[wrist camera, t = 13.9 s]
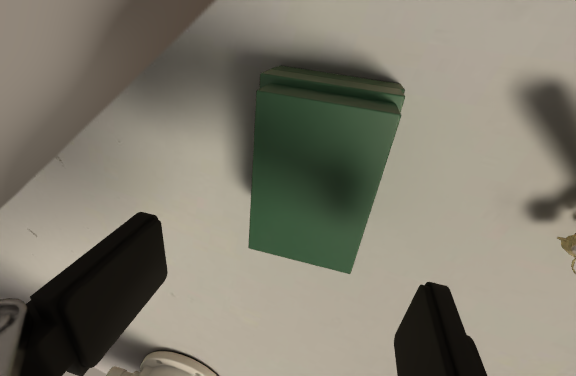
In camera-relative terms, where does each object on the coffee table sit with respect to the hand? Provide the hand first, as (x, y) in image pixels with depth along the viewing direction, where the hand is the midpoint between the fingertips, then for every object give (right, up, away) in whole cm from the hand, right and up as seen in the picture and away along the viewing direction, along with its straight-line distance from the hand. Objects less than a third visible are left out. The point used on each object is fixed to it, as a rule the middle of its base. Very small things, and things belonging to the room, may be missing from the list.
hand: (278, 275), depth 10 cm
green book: (+2, +4, +5) cm, 7 cm away
